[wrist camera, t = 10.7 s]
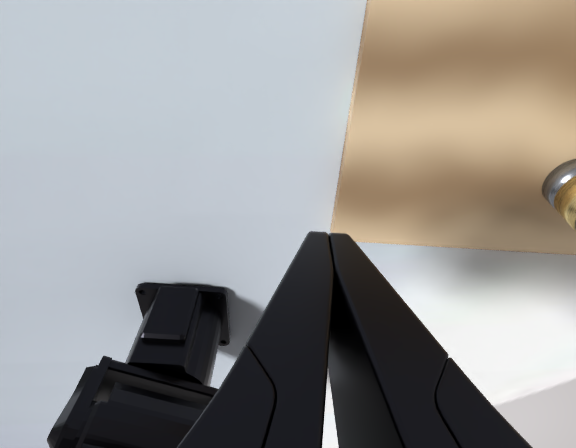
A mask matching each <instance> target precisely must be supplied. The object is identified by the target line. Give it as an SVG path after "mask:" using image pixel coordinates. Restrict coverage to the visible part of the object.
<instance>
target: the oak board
mask: <svg viewBox="0 0 576 448" xmlns="http://www.w3.org/2000/svg"><path fill="white" fill-rule="evenodd" d="M572 159H576V0H367V4H366V11H365V17H364V23H363V29H362V36H361V42H360V48H359V54H358V61H357V67H356V73H355V79H354V86H353V92H352V98H351V104H350V111H349V117H348V123H347V129H346V135H345V142H344V148H343V154H342V160H341V167H340V173H339V179H338V185H337V192H336V198H335V204H334V210H333V217H332V223H331V229H330V231H331V233H346V234H348V235H349V236H350V237H351V238H352V239H353V240H354V241H355V242H369V243H385V244H402V245H418V246H435V247H452V248H468V249H485V250H502V251H518V252H535V253H551V254H568V255H576V231H575V230H574V229H573V228H572V227H571V226H570V225H569V224H568V223H567V221H566V220H565V219H564V218H563V217H562V216H561V215H560V214H559V213H558V212H557V211H556V210H555V209H554V208H553V207H552V205H551V204H550V203H549V202H548V201H547V200H546V199H545V198H544V197H543V195H542V185H543V182H544V180H545V178H546V177H547V176H548V174H549V173H550V172H551V171H552V170H554V169H555V168H556V167H558V166H559V165H561V164H562V163H564V162H567V161H569V160H572Z"/></svg>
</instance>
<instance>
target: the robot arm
mask: <svg viewBox="0 0 576 448" xmlns="http://www.w3.org/2000/svg"><path fill="white" fill-rule="evenodd" d="M135 292H136V296H137V299H138V302H139V306H140V309H141V312H142V316H143V321H142V324H141V326H140V329H139V331H138V333H137V336H136V338H135V341H134V343H133V345H132V348H131V350H130V353H129V355H128V357H127V360H126V362H125V363H122V362H119V361H115V360H112V358H110V357H107V356H103V357H102V359H101V361H100V363H99V365H96V366H92V367H86V369H85V371H84V373H83V375H82V377H81V379H80V381H79V383H78V385H77V387H76V389H75V391H74V393H73V395H72V396H71V398H70V400H69V401H68V403H67V405H66V406H65V408H64V410H63V411H62V413H61V415H60V416H59V418H58V420H57V421H56V423H55V424H54V426H53V428H52V430H51V432H50V434H49V436H48V438H47V442H48V444H49V447H50V448H322V439H323V425H324V411H325V397H326V383H327V369H329V377H330V384H331V392H332V399H333V407H334V415H335V422H336V430H337V437H338V445H339V448H532V447H531V446H530V445H529V443H528V442H527V441H526V440H525V439H524V438H523V437H522V436H521V435H520V434H519V433H518V432H517V431H516V430H515V429H514V428H513V427H512V426H511V425H510V424H509V423H508V422H507V421H506V419H505V418H504V417H503V416H502V415H501V414H500V413H499V412H498V411H497V410H496V409H495V408H494V407H493V406H492V405H491V404H490V402H489V401H488V400H487V399H486V398H485V397H484V396H483V394H482V393H481V392H480V391H479V390H478V389H477V387H476V386H475V385H474V384H473V383H472V382H471V381H470V379H469V378H468V377H467V376H466V375H465V374H464V372H463V371H462V370H461V369H460V368H459V366H458V365H457V364H456V363H455V362H454V360H453V359H452V358H448V353H447V352H446V351H445V350H444V349H443V347H442V346H441V345H440V344H439V343H438V341H437V340H436V339H435V338H434V337H433V335H432V334H431V333H430V332H429V331H428V329H427V328H426V327H425V326H424V325H423V323H422V322H421V321H420V320H419V318H418V317H417V316H416V315H415V314H414V312H413V311H412V310H411V309H410V308H409V306H408V305H407V304H406V303H405V302H404V300H403V299H402V298H401V297H400V296H399V294H398V293H397V292H396V291H395V290H394V288H393V287H392V286H391V285H390V284H389V282H388V281H387V280H386V279H385V278H384V276H383V275H382V274H381V273H380V272H379V270H378V269H377V268H376V267H375V266H374V264H373V263H372V262H371V261H370V260H369V258H368V257H367V256H366V255H365V253H364V252H363V251H362V250H361V249H360V247H359V246H358V245H357V244H356V243H355V241H354V240H353V239H352V238H351V237H350V236H349V235H348V234H346V233H330V234H329V235H328V234H327V233H326V232H315V231H311V232H309V233H308V234H307V236H306V238H305V239H304V241H303V243H302V245H301V247H300V248H299V250H298V252H297V254H296V255H295V257H294V259H293V261H292V263H291V264H290V266H289V268H288V270H287V271H286V273H285V275H284V277H283V279H282V280H281V282H280V284H279V286H278V287H277V289H276V291H275V293H274V295H273V296H272V298H271V300H270V302H269V303H268V305H267V307H266V309H265V311H264V312H263V314H262V316H261V318H260V319H259V321H258V323H257V325H256V327H255V328H254V330H253V332H252V334H251V335H250V337H249V339H248V341H247V343H246V346H245V347H243V349H242V351H241V353H240V354H239V356H238V358H237V360H236V362H235V363H234V365H233V367H232V368H231V370H230V372H229V373H228V375H227V376H226V378H225V380H224V381H223V383H222V385H221V386H220V388H219V389H217V388H213V387H210V384H211V379H212V374H213V369H214V364H215V359H216V354H217V349H218V345H220V346H226V345H228V344H229V343H230V327H229V313H228V299H227V291H226V290H225V289H223V288H213V287H196V286H179V285H162V284H145V283H142V284H138V286H137V288H136V290H135Z"/></svg>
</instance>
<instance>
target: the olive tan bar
mask: <svg viewBox="0 0 576 448" xmlns="http://www.w3.org/2000/svg"><path fill="white" fill-rule="evenodd" d="M554 207H555V209H556V211H557V212H558V213H559V214H560V215H561V216H562V217H563V218H564V219H565V220H566V221H567V223H568V224H569V225H570V226H571V227H572V228H573V229H574V230H575V226H574V225H575V220H576V176H575V177H573V178H571V179H570V180H568V181H567V182H566V183H565V184H564V185H563V186H562V187H561V188H560V189H559V190H558V192H557V194H556V196H555V198H554ZM575 231H576V230H575Z"/></svg>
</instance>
